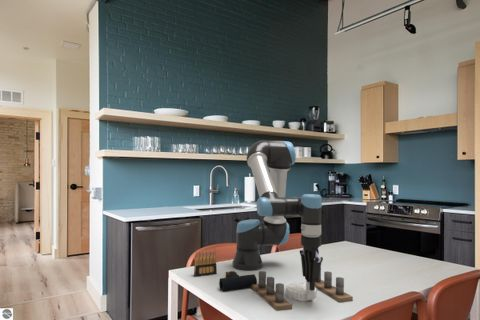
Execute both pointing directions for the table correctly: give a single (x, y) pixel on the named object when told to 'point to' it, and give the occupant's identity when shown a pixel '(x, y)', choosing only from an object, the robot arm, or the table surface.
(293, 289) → the mooncake
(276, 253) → the table surface
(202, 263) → the ammunition clip
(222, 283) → the pipe connector
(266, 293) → the rails
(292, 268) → the table surface
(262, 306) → the table surface
